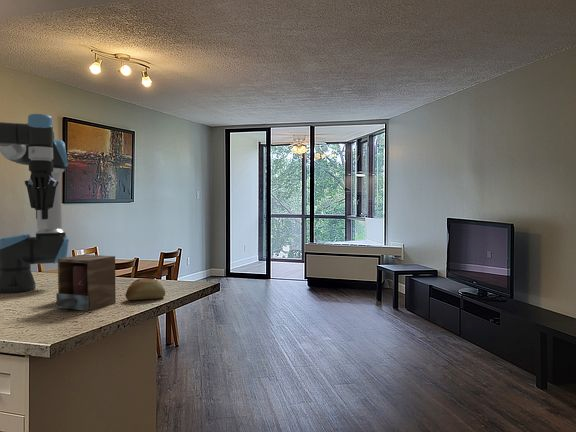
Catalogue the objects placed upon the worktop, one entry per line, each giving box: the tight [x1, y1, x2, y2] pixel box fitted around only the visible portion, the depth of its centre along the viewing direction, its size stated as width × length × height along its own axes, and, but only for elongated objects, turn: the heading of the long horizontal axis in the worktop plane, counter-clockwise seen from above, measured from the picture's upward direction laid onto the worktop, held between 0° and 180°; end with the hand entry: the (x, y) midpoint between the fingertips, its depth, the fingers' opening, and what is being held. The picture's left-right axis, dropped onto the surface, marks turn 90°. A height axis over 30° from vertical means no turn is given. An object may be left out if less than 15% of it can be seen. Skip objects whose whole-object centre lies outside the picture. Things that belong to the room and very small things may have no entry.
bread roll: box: [125, 277, 166, 301], centre depth 183 cm, size 10×15×8 cm, turn 120°
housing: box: [57, 254, 117, 312], centre depth 172 cm, size 14×13×18 cm
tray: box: [55, 292, 89, 312], centre depth 169 cm, size 14×17×5 cm
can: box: [73, 264, 88, 296], centre depth 171 cm, size 6×6×14 cm
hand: (42, 229), depth 163 cm, fingers closed
